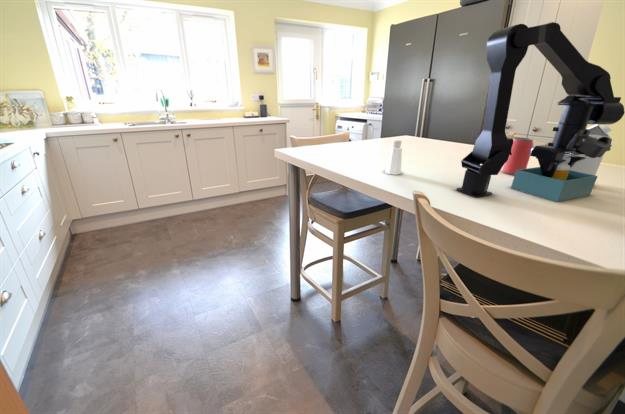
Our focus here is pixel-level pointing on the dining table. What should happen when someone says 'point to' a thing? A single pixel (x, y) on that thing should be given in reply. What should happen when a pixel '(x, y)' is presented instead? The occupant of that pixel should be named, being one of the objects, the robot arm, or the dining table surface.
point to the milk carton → (589, 163)
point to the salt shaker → (394, 159)
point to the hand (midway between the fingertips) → (552, 181)
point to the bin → (553, 184)
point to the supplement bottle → (562, 169)
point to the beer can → (518, 155)
